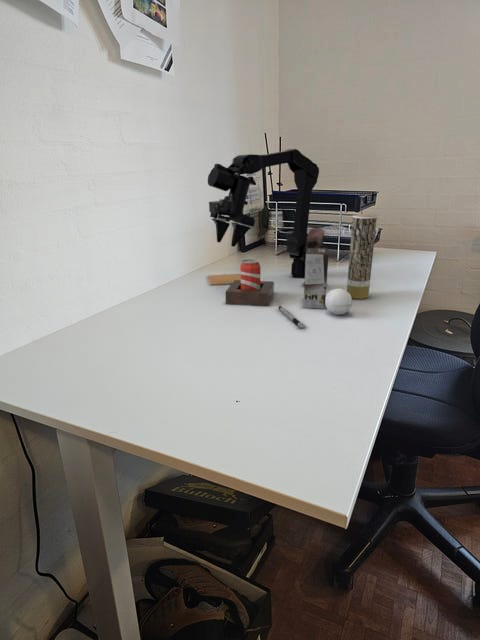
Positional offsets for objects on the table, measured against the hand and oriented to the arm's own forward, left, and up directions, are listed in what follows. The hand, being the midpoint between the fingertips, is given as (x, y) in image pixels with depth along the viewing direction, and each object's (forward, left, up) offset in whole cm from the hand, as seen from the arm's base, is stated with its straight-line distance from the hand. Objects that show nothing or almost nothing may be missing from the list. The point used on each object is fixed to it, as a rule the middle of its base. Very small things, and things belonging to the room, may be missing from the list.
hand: (225, 244), depth 129 cm
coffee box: (-29, +9, -16) cm, 35 cm away
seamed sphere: (-37, +17, -16) cm, 44 cm away
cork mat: (+4, -13, -16) cm, 20 cm away
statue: (-29, -9, -16) cm, 34 cm away
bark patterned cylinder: (-42, 0, -16) cm, 45 cm away
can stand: (-10, +7, -16) cm, 20 cm away
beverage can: (-9, +7, -16) cm, 20 cm away
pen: (-24, +23, -16) cm, 37 cm away
